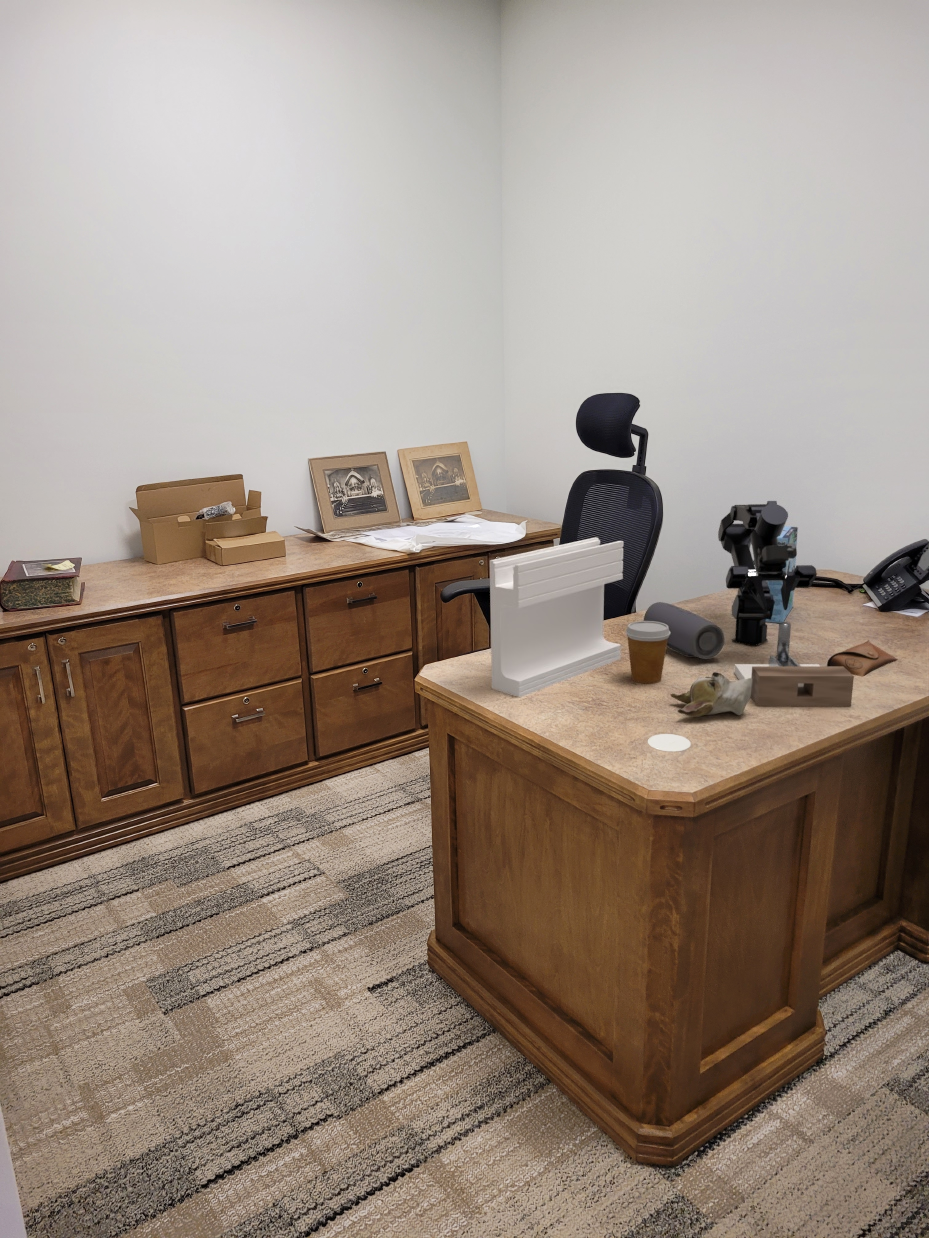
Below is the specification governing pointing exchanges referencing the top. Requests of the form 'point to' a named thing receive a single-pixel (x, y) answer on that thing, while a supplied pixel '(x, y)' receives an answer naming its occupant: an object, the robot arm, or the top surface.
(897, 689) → the top surface
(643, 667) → the disposable coffee cup
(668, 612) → the bluetooth speaker
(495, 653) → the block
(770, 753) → the top surface
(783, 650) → the bolt
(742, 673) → the door panel
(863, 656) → the sunglasses case
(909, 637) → the top surface
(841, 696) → the door jamb
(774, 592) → the light blue flat box
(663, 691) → the top surface
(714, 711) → the ceramic sculpture
